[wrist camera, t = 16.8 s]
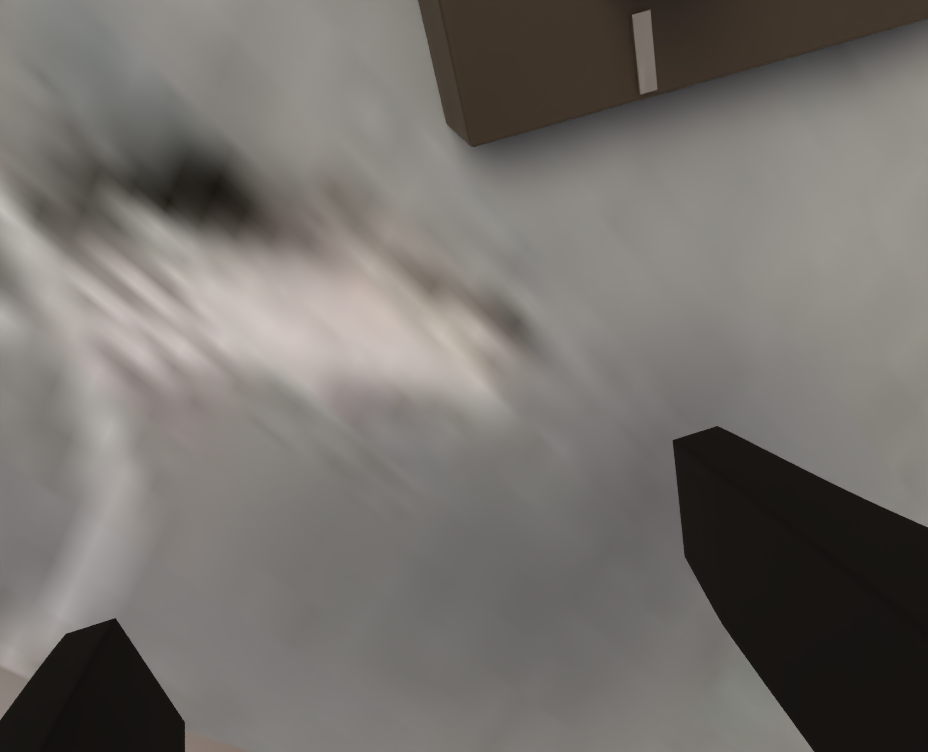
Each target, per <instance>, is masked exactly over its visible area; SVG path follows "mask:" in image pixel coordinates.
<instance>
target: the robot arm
mask: <svg viewBox="0 0 928 752" xmlns="http://www.w3.org/2000/svg"><path fill="white" fill-rule="evenodd" d="M673 447H674V457H675V467H676V476H677V486H678V495H679V505H680V515H681V524H682V534H683V543H684V553H685V558H686V560H687V561H688V563H689V565H690V567H691V569H692V571H693V573H694V574H695V576H696V578H697V580H698V582H699V584H700V585H701V587H702V589H703V591H704V593H705V595H706V596H707V598H708V600H709V602H710V603H711V605H712V607H713V609H714V610H715V612H716V614H717V616H718V617H719V619H720V621H721V623H722V624H723V626H724V627H725V629H726V630H727V631H728V633H729V634H730V636H731V637H732V639H733V640H734V641H735V643H736V644H737V646H738V647H739V648H740V650H741V651H742V653H743V654H744V655H745V657H746V658H747V660H748V661H749V662H750V664H751V665H752V667H753V668H754V669H755V671H756V672H757V673H758V675H759V676H760V678H761V679H762V680H763V682H764V683H765V685H766V686H767V687H768V689H769V690H770V691H771V693H772V694H773V696H774V697H775V698H776V700H777V701H778V702H779V704H780V705H781V707H782V708H783V709H784V711H785V712H786V713H787V715H788V716H789V718H790V719H791V720H792V722H793V723H794V724H795V726H796V727H797V729H798V730H799V731H800V733H801V734H802V735H803V737H804V738H805V740H806V741H807V742H808V744H809V745H810V746H811V748H812V749H813V751H814V752H928V527H925V526H923V525H921V524H918V523H916V522H914V521H912V520H909V519H907V518H905V517H903V516H900V515H898V514H896V513H894V512H892V511H889V510H887V509H885V508H883V507H881V506H878V505H876V504H874V503H872V502H870V501H868V500H865V499H863V498H861V497H859V496H857V495H855V494H853V493H851V492H849V491H847V490H844V489H842V488H840V487H838V486H836V485H834V484H832V483H830V482H828V481H826V480H824V479H822V478H820V477H818V476H816V475H814V474H812V473H810V472H808V471H806V470H804V469H802V468H800V467H798V466H796V465H794V464H792V463H790V462H788V461H786V460H784V459H782V458H780V457H778V456H776V455H774V454H772V453H770V452H768V451H766V450H764V449H762V448H761V447H759V446H757V445H755V444H753V443H751V442H749V441H747V440H745V439H743V438H741V437H739V436H737V435H735V434H733V433H731V432H729V431H727V430H725V429H722V428H720V427H718V426H716V427H713V428H710V429H707V430H704V431H700V432H697V433H694V434H691V435H688V436H685V437H682V438H679V439H675V440H673ZM0 752H185V722H184V720H183V719H182V717H181V716H180V714H179V713H178V711H177V710H176V708H175V707H174V705H173V704H172V702H171V701H170V699H169V698H168V696H167V695H166V693H165V692H164V690H163V689H162V687H161V686H160V684H159V683H158V681H157V680H156V678H155V677H154V675H153V674H152V672H151V671H150V669H149V668H148V666H147V665H146V663H145V662H144V660H143V659H142V657H141V656H140V654H139V653H138V651H137V650H136V648H135V647H134V645H133V644H132V642H131V641H130V639H129V638H128V636H127V635H126V633H125V632H124V630H123V629H122V627H121V626H120V624H119V623H118V621H117V620H116V618H114V619H111V620H108V621H105V622H102V623H99V624H96V625H92V626H89V627H86V628H83V629H80V630H77V631H74V632H71V633H67V634H65V636H64V637H63V638H62V639H61V641H60V642H59V643H58V644H57V645H56V647H55V648H54V649H53V650H52V652H51V653H50V654H49V656H48V657H47V658H46V659H45V661H44V662H43V663H42V665H41V666H40V667H39V669H38V670H37V671H36V673H35V674H34V675H33V677H32V678H31V679H30V681H29V682H28V683H27V685H26V686H25V687H24V689H23V690H22V691H21V693H20V694H19V696H18V697H17V698H16V700H15V701H14V702H13V704H12V705H11V706H10V708H9V709H8V710H7V712H6V713H5V715H4V716H3V717H2V719H1V720H0Z"/></svg>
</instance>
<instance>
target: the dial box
mask: <svg viewBox="0 0 928 752" xmlns="http://www.w3.org/2000/svg"><path fill="white" fill-rule="evenodd" d="M418 1H419V6H420V10H421V14H422V19H423V23H424V27H425V32H426V36H427V40H428V45H429V49H430V54H431V58H432V62H433V67H434V71H435V75H436V80H437V84H438V88H439V93H440V97H441V102H442V106H443V110H444V115H445V119H446V123H447V124H448V126H449V127H450V128H452V129H453V130H454V131H455V132H456V133H457V134H458V135H459V136H460V137H461V138H463V139H464V140H465V141H466V142H467V143H468V144H469V145H470V146H473V147H476V146H479V145H483V144H486V143H490V142H493V141H497V140H500V139H504V138H507V137H511V136H515V135H518V134H522V133H525V132H529V131H532V130H536V129H539V128H543V127H546V126H550V125H553V124H557V123H561V122H564V121H568V120H571V119H575V118H578V117H582V116H585V115H589V114H592V113H596V112H600V111H603V110H607V109H610V108H614V107H617V106H621V105H624V104H628V103H631V102H635V101H638V100H642V99H646V98H649V97H653V96H656V95H660V94H663V93H667V92H670V91H674V90H677V89H681V88H685V87H688V86H692V85H695V84H699V83H702V82H706V81H709V80H713V79H716V78H720V77H723V76H727V75H731V74H734V73H738V72H741V71H745V70H748V69H752V68H755V67H759V66H762V65H766V64H770V63H773V62H777V61H780V60H784V59H787V58H791V57H794V56H798V55H801V54H805V53H808V52H812V51H816V50H819V49H823V48H826V47H830V46H833V45H837V44H840V43H844V42H847V41H851V40H855V39H858V38H862V37H865V36H869V35H872V34H876V33H879V32H883V31H886V30H890V29H893V28H897V27H901V26H904V25H908V24H911V23H915V22H918V21H922V20H925V19H928V0H418Z"/></svg>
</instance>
